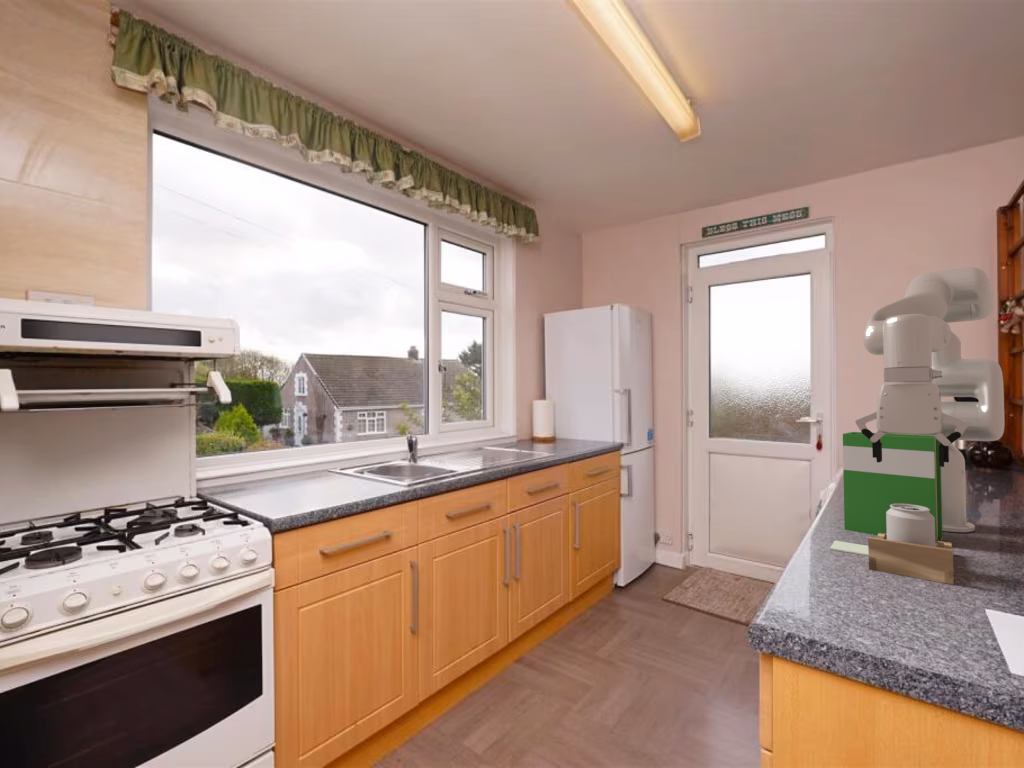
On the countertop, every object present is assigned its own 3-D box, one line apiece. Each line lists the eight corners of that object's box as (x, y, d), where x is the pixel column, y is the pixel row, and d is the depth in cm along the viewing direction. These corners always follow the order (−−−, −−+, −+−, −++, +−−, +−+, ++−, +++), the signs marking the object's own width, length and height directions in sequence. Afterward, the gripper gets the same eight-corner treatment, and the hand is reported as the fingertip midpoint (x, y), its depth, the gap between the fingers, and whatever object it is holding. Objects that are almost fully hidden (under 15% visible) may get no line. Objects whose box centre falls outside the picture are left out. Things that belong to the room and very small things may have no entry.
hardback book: (942, 539, 115) (940, 436, 116) (936, 545, 110) (933, 438, 111) (853, 524, 129) (851, 431, 129) (844, 529, 124) (842, 433, 124)
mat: (835, 541, 114) (835, 540, 114) (872, 547, 110) (872, 546, 110) (829, 549, 109) (829, 547, 109) (868, 556, 104) (868, 554, 104)
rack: (879, 542, 113) (878, 516, 113) (951, 554, 105) (951, 525, 105) (868, 569, 97) (868, 538, 97) (953, 584, 89) (952, 551, 89)
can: (936, 566, 98) (935, 505, 98) (934, 577, 92) (933, 512, 93) (889, 557, 103) (888, 500, 103) (884, 567, 98) (883, 506, 98)
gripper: (965, 376, 95) (968, 465, 95) (857, 378, 107) (858, 458, 106) (967, 375, 90) (970, 470, 89) (852, 378, 101) (854, 462, 101)
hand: (909, 463), depth 98 cm, fingers open, 9 cm apart
